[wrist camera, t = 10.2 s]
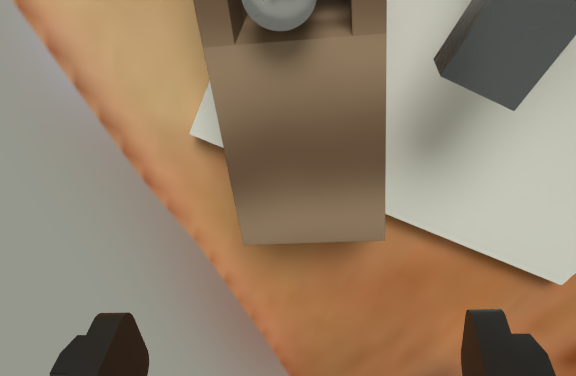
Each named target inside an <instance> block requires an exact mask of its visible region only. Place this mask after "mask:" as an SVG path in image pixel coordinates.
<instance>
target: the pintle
mask: <svg viewBox="0 0 576 376" xmlns="http://www.w3.org/2000/svg"><path fill="white" fill-rule="evenodd" d="M242 3H243V6H244V8H245V10H246V12H247V13H248V15H249V16H250V17H251V19H252V20H253V21H255V22H256V23H257V24H258V25H260V26H262V27H264V28H266V29H269V30H273V31H287V30H291V29H294V28H296V27H298V26H300V25H301V24H302V23H304V22H305V21H306V20H307V19H308V18H309V16H310V15H311V13H312V12H313V10H314V7H315V4H316V0H242Z"/></svg>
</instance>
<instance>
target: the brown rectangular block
mask: <svg viewBox="0 0 576 376" xmlns="http://www.w3.org/2000/svg"><path fill="white" fill-rule="evenodd" d="M193 1H194V6H195V11H196V16H197V21H198V26H199V31H200V36H201V40H202V45H203V50H204V55H205V60H206V65H207V70H208V74H209V79H210V84H211V89H212V94H213V99H214V104H215V108H216V113H217V118H218V123H219V128H220V133H221V138H222V142H223V147H224V152H225V157H226V162H227V167H228V172H229V176H230V181H231V186H232V191H233V196H234V201H235V206H236V210H237V215H238V220H239V225H240V230H241V235H242V240H243V244H244V245H261V244H292V243H324V242H355V241H385V179H386V43H387V0H316V4H315V7H314V10H313V12H312V13H311V15H310V16H309V18H308V19H307V20H306V21H305V22H304V23H302V24H301V25H300V26H298V27H296V28H294V29H291V30H287V31H273V30H269V29H266V28H264V27H262V26H260V25H258V24H257V23H256V22H255V21H253V20H252V19H251V17H250V16H249V15H248V13H247V12H246V10H245V8H244V6H243V3H242V0H193Z"/></svg>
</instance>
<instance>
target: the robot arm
mask: <svg viewBox="0 0 576 376" xmlns="http://www.w3.org/2000/svg"><path fill="white" fill-rule="evenodd" d="M461 365H462V374H463V376H556V375H555V372H554V370H553V367H552V365H551V362H550V359H549V357H548V354H547V353H546V352H545V351H544V349H543V348H542V347H541V346H540V345H539V344H538V343H537V342H536V340H535V339H534V338H533V337H532V336H531V335H530V334H511V331H510V328H509V325H508V322H507V319H506V316H505V314H504V312H503V311H502V310H501V309H481V310H467V311H466V316H465V324H464V332H463V340H462V348H461ZM148 367H149V354H148V350H147V348H146V345H145V343H144V341H143V338H142V336H141V334H140V331H139V329H138V326H137V324H136V322H135V319H134V317H133V315H132V314H130V313H100V314H98V315H97V316H96V317H95V318H94V321H93V322H92V324H91V326H90V328H89V330H88V332H87V334H86V335H77V336H76V338H74V339H73V340H72V341H71V343H70V344H69V345H68V346H67V347H66V348H65V349H64V350H63V351H62V352H61V353H60V355H59V357H58V358H57V360H56V362H55V364H54V366H53V368H52V370H51V372H50V376H147V374H148Z"/></svg>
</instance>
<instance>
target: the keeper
mask: <svg viewBox="0 0 576 376" xmlns="http://www.w3.org/2000/svg"><path fill="white" fill-rule="evenodd" d="M575 35H576V0H471V2H470V4H469V5H468V7H467V8H466V10H465V11H464V13H463V14H462V16H461V17H460V19H459V20H458V22H457V23H456V25H455V27H454V28H453V30H452V31H451V33H450V34H449V36H448V37H447V39H446V40H445V42H444V43H443V45H442V46H441V48H440V50H439V51H438V53H437V54H436V56H435V57H434V59H433V60H434V62H435V65H436V67H437V69H438V72H439V74H440V76H441V77H443V78H445V79H447V80H449V81H451V82H453V83H456V84H458V85H460V86H462V87H464V88H466V89H468V90H470V91H472V92H475V93H477V94H479V95H481V96H483V97H485V98H487V99H489V100H491V101H493V102H496V103H498V104H500V105H502V106H504V107H506V108H508V109H510V110H512V111H515V110H516V109H517V107H518V106H519V105H520V104H521V102H522V101H523V100H524V99H525V97H526V96H527V95H528V94H529V92H530V91H531V90H532V89H533V87H534V86H535V85H536V84H537V83H538V81H539V80H540V79H541V78H542V76H543V75H544V74H545V73H546V71H547V70H548V69H549V68H550V66H551V65H552V64H553V63H554V61H555V60H556V59H557V58H558V57H559V55H560V54H561V53H562V52H563V50H564V49H565V48H566V47H567V45H568V44H569V43H570V42H571V40H572V39H573V38H574V37H575Z"/></svg>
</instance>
